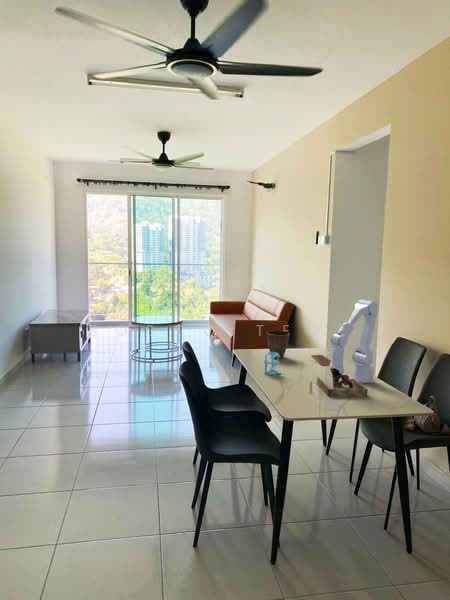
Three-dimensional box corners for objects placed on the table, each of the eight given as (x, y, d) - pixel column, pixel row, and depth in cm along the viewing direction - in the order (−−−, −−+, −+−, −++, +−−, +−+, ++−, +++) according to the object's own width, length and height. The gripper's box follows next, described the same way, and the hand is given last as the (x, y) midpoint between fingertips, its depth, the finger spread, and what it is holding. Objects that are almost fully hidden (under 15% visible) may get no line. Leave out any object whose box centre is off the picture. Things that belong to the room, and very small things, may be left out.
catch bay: (352, 384, 212) (353, 378, 211) (367, 396, 195) (367, 389, 194) (316, 384, 210) (317, 377, 209) (328, 396, 193) (328, 389, 192)
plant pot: (264, 359, 255) (265, 334, 253) (266, 353, 270) (267, 329, 268) (288, 361, 253) (289, 336, 251) (288, 355, 267) (290, 331, 265)
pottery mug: (353, 395, 198) (346, 381, 196) (336, 399, 203) (328, 385, 202) (357, 381, 208) (350, 368, 206) (340, 385, 213) (333, 372, 212)
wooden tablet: (337, 367, 245) (338, 364, 245) (321, 367, 244) (321, 364, 244) (323, 356, 272) (324, 353, 271) (309, 355, 271) (309, 353, 271)
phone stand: (261, 373, 226) (262, 352, 224) (271, 370, 231) (272, 350, 230) (271, 376, 220) (272, 355, 219) (281, 373, 226) (282, 353, 224)
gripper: (325, 353, 215) (323, 378, 217) (335, 360, 201) (333, 387, 202) (338, 353, 216) (336, 378, 217) (348, 361, 201) (346, 387, 203)
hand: (335, 382), depth 210 cm, fingers closed
